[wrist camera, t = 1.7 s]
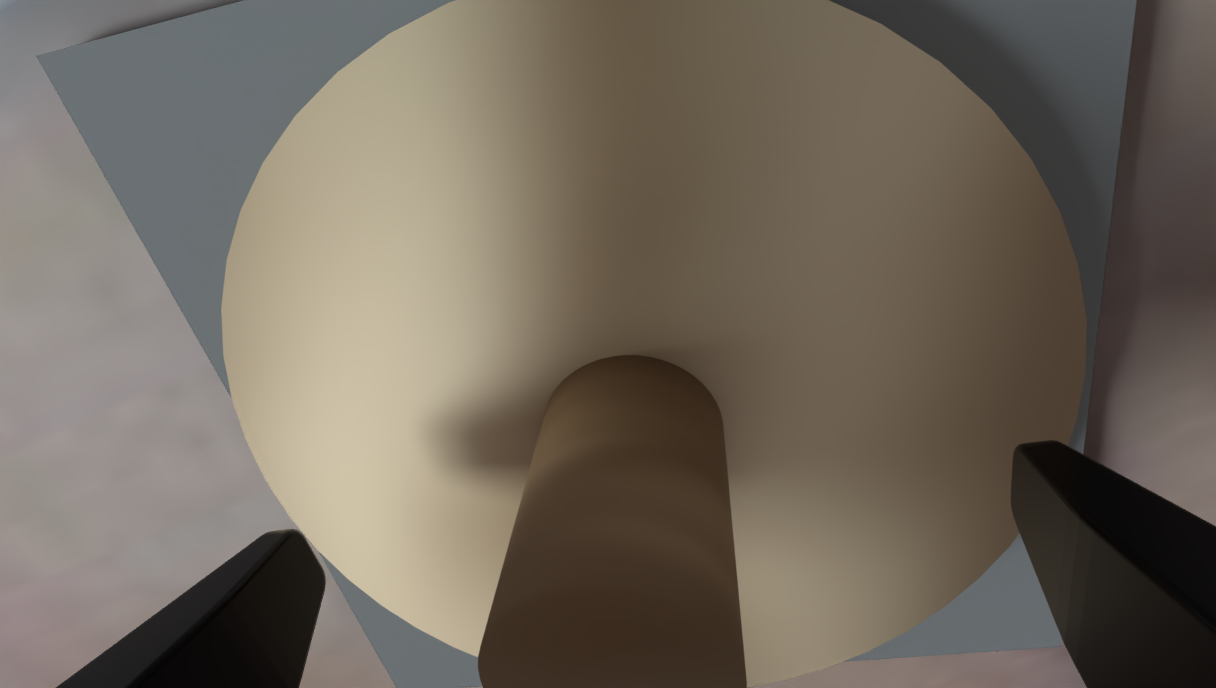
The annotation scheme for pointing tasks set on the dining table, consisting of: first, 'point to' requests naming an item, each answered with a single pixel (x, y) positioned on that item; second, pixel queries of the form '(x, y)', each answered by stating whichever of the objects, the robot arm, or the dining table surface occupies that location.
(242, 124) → the mat
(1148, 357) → the dining table surface
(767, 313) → the lid
